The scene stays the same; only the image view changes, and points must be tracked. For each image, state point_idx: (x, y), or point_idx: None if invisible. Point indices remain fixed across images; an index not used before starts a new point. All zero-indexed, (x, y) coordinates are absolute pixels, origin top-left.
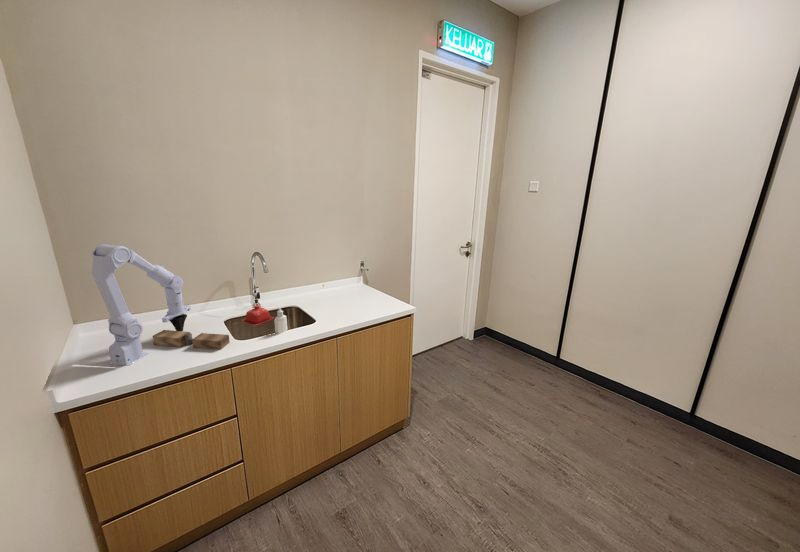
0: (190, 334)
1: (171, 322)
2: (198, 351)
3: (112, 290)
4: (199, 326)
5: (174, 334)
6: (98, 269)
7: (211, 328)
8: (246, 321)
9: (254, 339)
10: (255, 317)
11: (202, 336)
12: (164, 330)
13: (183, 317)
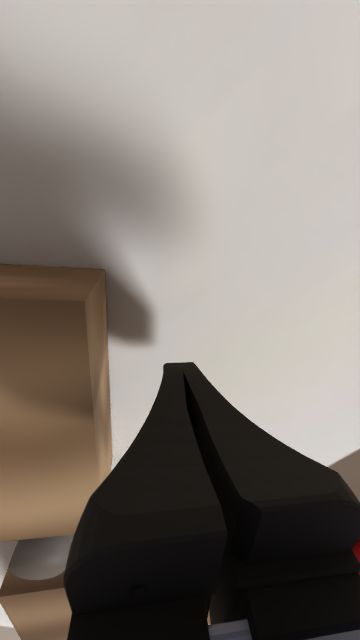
0: (44, 576)
1: (128, 456)
2: (7, 548)
3: None
4: (348, 366)
5: (14, 476)
6: None
7: (301, 445)
8: (358, 539)
9: None
10: None
11: (62, 607)
12: (70, 319)
13: (212, 624)
